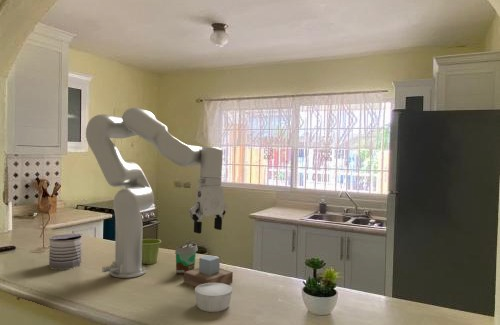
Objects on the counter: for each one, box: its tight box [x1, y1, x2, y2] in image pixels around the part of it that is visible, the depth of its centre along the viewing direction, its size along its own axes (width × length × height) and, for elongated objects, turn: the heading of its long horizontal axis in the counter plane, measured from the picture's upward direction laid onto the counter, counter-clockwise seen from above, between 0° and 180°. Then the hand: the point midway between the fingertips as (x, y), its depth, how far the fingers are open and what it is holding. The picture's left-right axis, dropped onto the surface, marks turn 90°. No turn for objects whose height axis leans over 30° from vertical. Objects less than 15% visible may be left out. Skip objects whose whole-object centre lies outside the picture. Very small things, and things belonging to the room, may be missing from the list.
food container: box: [174, 241, 199, 275], centre depth 143 cm, size 12×6×10 cm, turn 168°
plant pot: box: [142, 238, 162, 265], centre depth 153 cm, size 9×9×9 cm
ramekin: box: [194, 283, 233, 313], centre depth 111 cm, size 11×11×5 cm
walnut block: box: [183, 267, 234, 288], centre depth 131 cm, size 12×12×4 cm
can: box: [48, 232, 83, 271], centre depth 146 cm, size 11×11×12 cm
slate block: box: [198, 254, 221, 275], centre depth 131 cm, size 5×5×5 cm
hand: (207, 231), depth 131 cm, fingers open, 9 cm apart
